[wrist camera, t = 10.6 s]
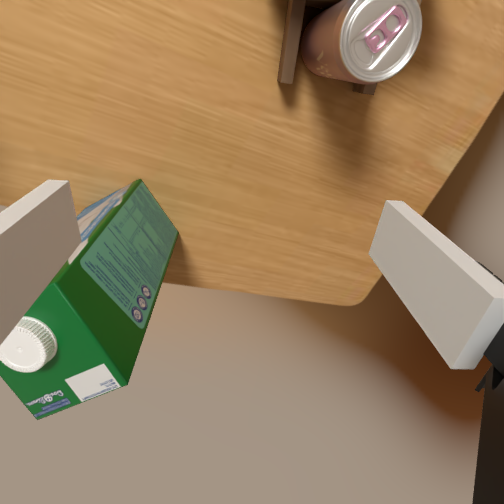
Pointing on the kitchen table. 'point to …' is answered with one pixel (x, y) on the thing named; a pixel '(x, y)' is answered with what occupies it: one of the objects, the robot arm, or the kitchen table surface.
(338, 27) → the beverage can
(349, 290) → the kitchen table surface
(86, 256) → the milk carton
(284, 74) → the bracket
